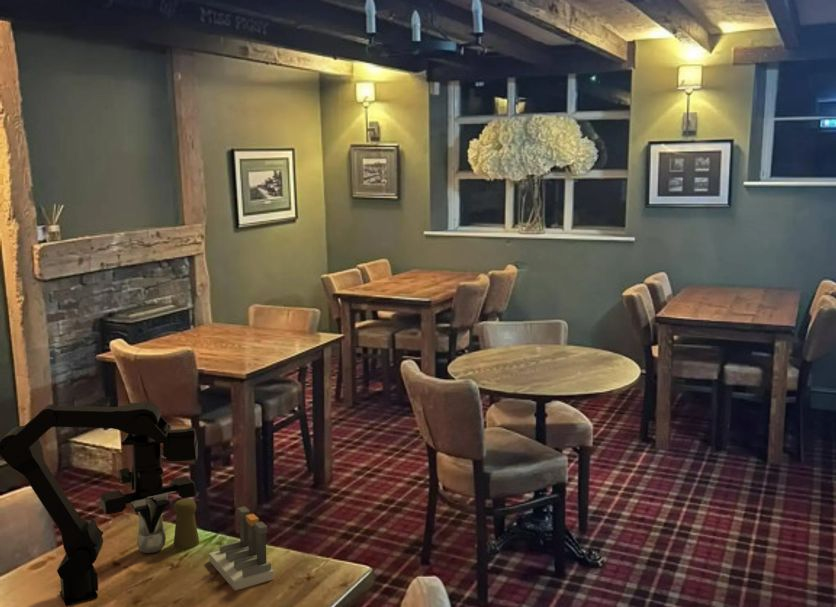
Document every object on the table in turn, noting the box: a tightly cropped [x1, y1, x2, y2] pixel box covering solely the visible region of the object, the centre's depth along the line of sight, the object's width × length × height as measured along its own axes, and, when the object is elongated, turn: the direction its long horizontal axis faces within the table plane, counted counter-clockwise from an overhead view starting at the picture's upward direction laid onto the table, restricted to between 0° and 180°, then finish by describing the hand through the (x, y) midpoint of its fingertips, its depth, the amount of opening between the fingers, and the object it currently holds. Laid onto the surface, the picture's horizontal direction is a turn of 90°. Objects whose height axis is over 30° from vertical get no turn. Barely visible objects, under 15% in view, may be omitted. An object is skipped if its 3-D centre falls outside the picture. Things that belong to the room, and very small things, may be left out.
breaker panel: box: [208, 540, 275, 591], centre depth 182 cm, size 9×16×4 cm, turn 34°
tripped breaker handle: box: [246, 513, 260, 556], centre depth 183 cm, size 2×3×10 cm, turn 34°
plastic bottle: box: [136, 499, 167, 554], centre depth 190 cm, size 6×7×20 cm
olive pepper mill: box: [173, 498, 200, 550], centre depth 194 cm, size 6×6×11 cm
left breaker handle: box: [237, 506, 251, 548], centre depth 187 cm, size 2×3×10 cm, turn 34°
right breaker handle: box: [254, 521, 269, 565], centre depth 178 cm, size 2×3×10 cm, turn 34°
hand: (150, 532), depth 171 cm, fingers closed
